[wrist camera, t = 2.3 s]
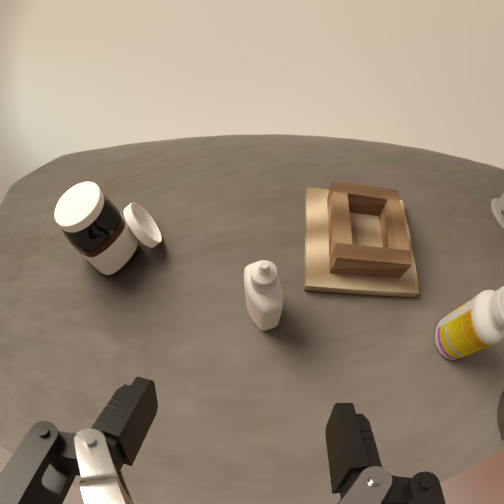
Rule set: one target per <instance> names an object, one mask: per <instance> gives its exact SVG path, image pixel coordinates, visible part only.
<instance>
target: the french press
mask: <svg viewBox="0 0 504 504" xmlns="http://www.w3.org/2000/svg"><path fill="white" fill-rule="evenodd" d="M491 207H492V211H493V214H494V216H495V217H496V219H497V221H498V222H499V224H500V225H501V226H502V228H503V229H504V193H503V194H502V196H501V197H500V198H494V199H493V200H492V201H491Z"/></svg>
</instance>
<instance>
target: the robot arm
mask: <svg viewBox="0 0 504 504" xmlns="http://www.w3.org/2000/svg"><path fill="white" fill-rule="evenodd" d="M157 408H158V402H157V396H156V390H155V384H154V381H153V380H148V379H144V378H141V377H136V378H135V380H134V381H133V383H132V384H131V386H129V385H126V384H125V385H124V386H122V387H121V388H119V389H118V390H116V392H115V393H114V395H113V396H112V399H110V401H109V402H108V405H106V407H105V408H104V410H103V411H102V413H101V414H100V416H99V417H98V419H97V420H96V422H95V423H94V425H93V426H92V427H91V428H89V429H83V430H81V431H79V432H78V433H77V434H74V433H67V432H61V431H58V430H57V428H56V426H55V425H54V424H52V423H50V422H47V421H41V422H38V423H36V424H34V425H33V426H32V428H31V429H30V431H29V432H28V433H27V435H26V436H25V438H24V439H23V440H22V442H21V443H20V445H19V446H18V448H17V449H16V451H15V452H14V454H13V455H12V457H11V458H10V460H9V461H8V463H7V464H6V466H5V467H4V469H3V470H2V472H1V473H0V504H62V503H63V501H64V499H65V497H66V495H67V493H68V491H69V488H70V486H71V485H72V483H73V480H74V478H75V476H76V475H79V476H81V478H82V481H80V489H81V493H82V496H83V500H84V503H85V504H134V502H133V500H132V497H131V495H130V493H129V490H128V488H127V485H126V482H125V480H124V477H123V474H122V472H121V468H122V466H123V464H127V465H130V466H132V464H133V462H134V460H135V458H136V456H137V453H138V451H139V449H140V447H141V445H142V443H143V441H144V439H145V437H146V434H147V432H148V430H149V428H150V426H151V424H152V422H153V420H154V418H155V416H156V413H157ZM498 423H499V427H500V429H501V432H502V436H501V438H504V393H503V395H502V398H501V400H500V404H499V410H498ZM326 443H327V451H328V459H329V468H330V477H331V486H332V494H333V493H340V495H341V499H340V501H339V502H338V503H337V504H445V500H444V496H443V493H442V489H441V486H440V482H439V480H438V478H437V477H436V475H434V474H433V473H430V472H420V473H417V474H416V475H415V476H414V477H413V478H406V477H397V476H393V475H391V474H390V472H389V471H388V470H386V469H385V468H383V467H382V465H381V462H380V458H379V454H378V451H377V447H376V443H375V440H374V436H373V433H372V429H371V426H370V423H369V421H368V420H367V418H366V417H365V416H364V415H363V414H356V412H355V408H354V405H353V403H336V404H335V405H334V407H333V410H332V413H331V415H330V418H329V420H328V423H327V426H326Z"/></svg>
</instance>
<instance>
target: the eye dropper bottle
mask: <svg viewBox="0 0 504 504" xmlns="http://www.w3.org/2000/svg"><path fill="white" fill-rule="evenodd" d="M277 275H278V271H277V268H276V266H275V265H274V264H273V263H272V262H270V261H267V260H261V261H258V262H255V263H252V264H250V265H248V266H246V268H245V270H244V287H245V297H246V305H247V309H248V312H249V315H250V317H251V319H252V320H253V322H254V323H255V325H256V326H257V327H258V328H259V329H260V330H262V331H266V330H269V329H272V328H274V327H276V326H277V325H278V323H279V320H280V316H281V312H282V308H283V291H282V287H281V284H280V281H279V279H278V277H277Z"/></svg>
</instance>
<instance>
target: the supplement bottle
mask: <svg viewBox="0 0 504 504" xmlns="http://www.w3.org/2000/svg"><path fill="white" fill-rule="evenodd" d="M503 338H504V286H503V287H501V288H500V289H498V290H497V291H496V292H495V291H493V290H485V291H482V292H481V293H479V294H478V295H476V296H475V297H474V298H472V299H471V300H469V301H468V302H466V303H465V304H463V305H462V306H460V307H459V308H457V309H455V310H454V311H452V312H451V313H449V314H447V315H446V316H444V317H443V318H442V319H441V320H440V321H439V323H438V325H437V327H436V331H435V342H436V346H437V348H438V350H439V352H440V353H441V355H443V356H444V357H445V358H447V359H450V360H456V359H459V358H462V357H465V356H467V355H470V354H472V353H475V352H477V351H480V350H482V349H484V348H487V347H489V346H492V345H494V344H496V343H498V342H500V341H501V340H502V339H503Z"/></svg>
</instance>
